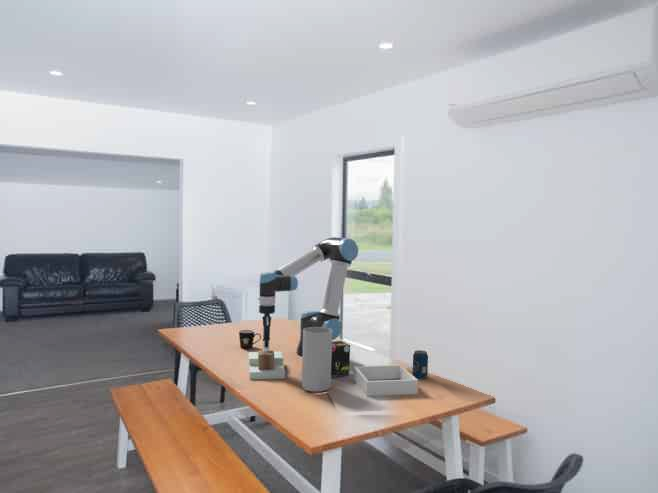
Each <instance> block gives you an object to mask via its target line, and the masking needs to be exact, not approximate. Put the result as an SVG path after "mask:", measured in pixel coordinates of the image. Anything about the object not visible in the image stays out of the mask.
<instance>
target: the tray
mask: <svg viewBox="0 0 658 493" xmlns="http://www.w3.org/2000/svg"><path fill="white" fill-rule="evenodd" d="M352 375H353V377H352V379H353V381H354V382H355V383H356V385H357V386H358V387H359V388H360V390H361V391H362V392H363V394H364V395H365V396H366V397H378V396H379V397H380V396H381V397H382V396H383V397H384V396H402V395H403V396H405V395H406V396H407V395H418V394H419V379H417V378H415V377H414V376H413V373H411V372H409V371H408V370H407V369H406V368H405V367H404V366H402V365H401V364H391V365H389V364H388V365H360V366H359V365H354V366H353V374H352ZM392 379H393V380H392Z"/></svg>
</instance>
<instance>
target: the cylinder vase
mask: <svg viewBox="0 0 658 493" xmlns="http://www.w3.org/2000/svg"><path fill="white" fill-rule="evenodd" d="M332 342H333V340H332V329H329V328H324V327H309V328H305V329H303V356H302V355H301V356H302V357H301V358H302V362H301V363H302V365H301V369H302V370H301V388H302V389H303V390H305V391H308V392H315V393H317V392H318V393H319V392H326V391H328V390H330V388H331V387H332V386H331V385H332V378H331V357H332Z"/></svg>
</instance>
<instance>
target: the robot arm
mask: <svg viewBox="0 0 658 493" xmlns="http://www.w3.org/2000/svg"><path fill="white" fill-rule="evenodd" d="M358 255H359V247H358V244H357V243H356V241H355V240H354V239H352V238H350V237H349V238H348V237H336V236H335V237H329V238H326V239H324V240H322V241H320V242H318V243H317V244H315V245H314V246H312V247H311V249H310V250H308V251H307V252H305V253H303V254H302V255H300V256H297V257H296V258H295V259H292V261H290V262H287V263H286V264H285V265H283V266H281V267H279V268H278V269H275V270H274V271H273V272H272V271H264V272H263V271H262V272H261V273H260V275H259V297H258V298H257V300H258V301H259V302H258V304H259V305H258V312H259V314H263V316H262V325H263V328H262V329H263V330H262V331H263V335H262V337H263V339H262V341H263V344H262V345H263V346H262V347H263V349H262V351H270V340H271V337H270V336H271V335H270V334H271V323H272V316H270V315H272V314H275V313H276V305H275V304H276V293H277V292H278V293H279V292H293V291H296V290H297V289H298V286H299V279H298V278H297V277H296V276H297V275H299V274H300V273H302V272H304V271H306V270H307V269H309V268H310V267H312V266H314V265H315V264H317V263H318V262H319V263H320V262H322V263H323V262H324V261H326V260H329V262H330V264H331V266H330V271H329V275H328V276H329V277H328V280H327V284H326V285H327V286H326V288H325V290H326V291H325V293H324V294H325V295H324V298H323V304H322V308H321V309H320V310H310V311H309V310H308V311H303V312H301V314H300V329H299V330H300V336H299V337H300V338H299V341H298V344H297V347H296V354H297V355H298V356H303V329H305V328H309V327H324V328H329V329H332V341H335V340H336V339H337V338H339V337H340V335H341V334H342V330H343V323H342V321H341V319H340V318H341V315H340V313H339V310H340V306H341V300H342V296H343V291H344V286H345V282H346V276H347V272H348V269H349V267H351V265H352V261H355V259H356V258H357V257H358Z"/></svg>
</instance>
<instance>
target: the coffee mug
mask: <svg viewBox="0 0 658 493" xmlns="http://www.w3.org/2000/svg"><path fill="white" fill-rule="evenodd" d="M256 335H258V336H259V338H258V340H256V341H255V342H254V338H255V337H256ZM238 336H239V345H240V346H239V347H240V349H244V350H250V349H252V348H253V345H255V344H256V343H258V342H259V341H260V340H261V338H262V335H261V334H260V333H255V330H253V329H239V331H238Z"/></svg>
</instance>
